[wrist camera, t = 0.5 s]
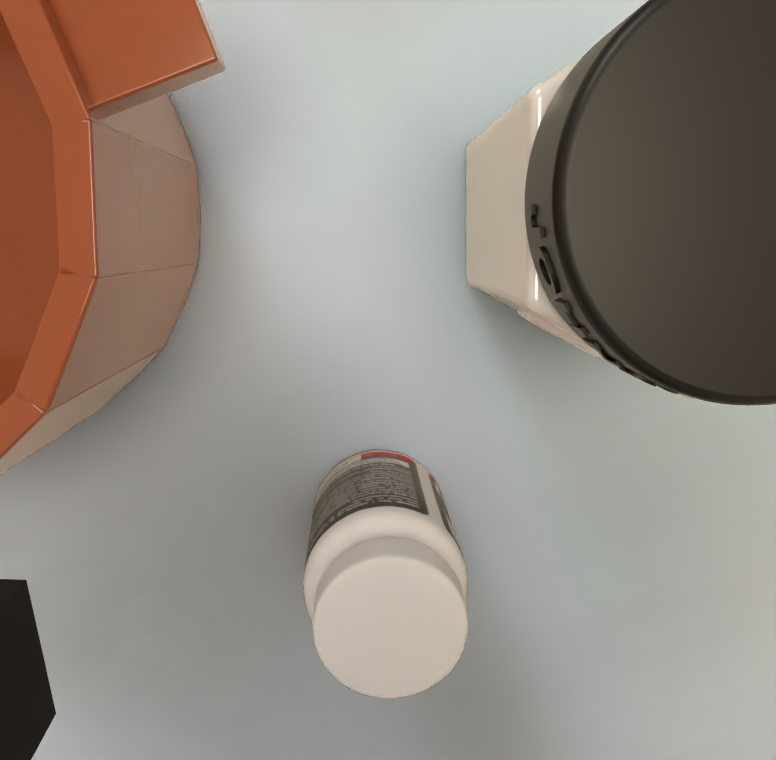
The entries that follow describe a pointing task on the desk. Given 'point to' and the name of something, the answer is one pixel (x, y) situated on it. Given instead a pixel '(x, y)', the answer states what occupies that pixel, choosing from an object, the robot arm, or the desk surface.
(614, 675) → the desk surface
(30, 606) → the robot arm
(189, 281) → the pot
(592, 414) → the desk surface
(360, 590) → the pill bottle
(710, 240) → the jar
